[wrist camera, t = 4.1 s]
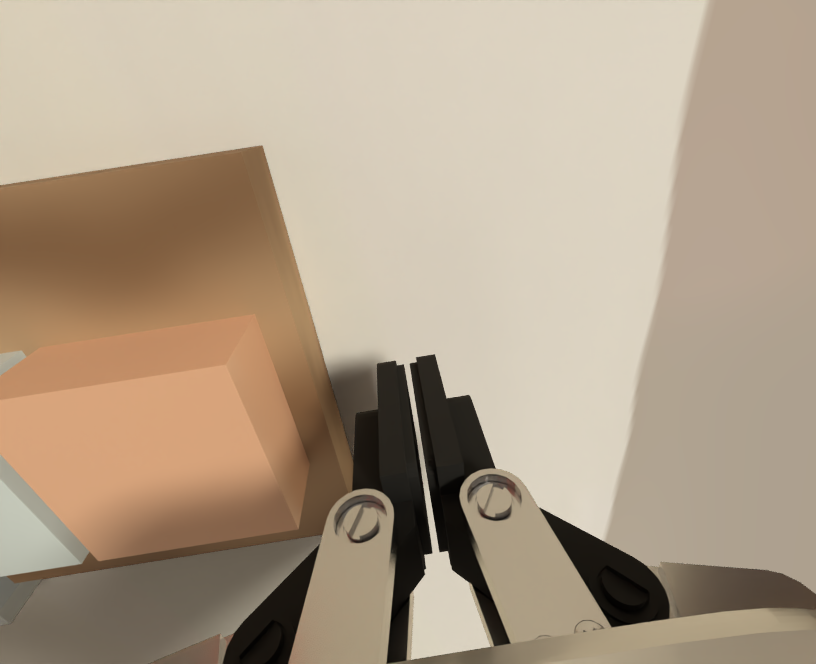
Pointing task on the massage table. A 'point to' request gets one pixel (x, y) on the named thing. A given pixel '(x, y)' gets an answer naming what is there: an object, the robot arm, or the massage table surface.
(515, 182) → the massage table surface
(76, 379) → the terracotta tile
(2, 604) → the grey tray
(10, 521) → the pale blue tile
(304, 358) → the walnut plate
